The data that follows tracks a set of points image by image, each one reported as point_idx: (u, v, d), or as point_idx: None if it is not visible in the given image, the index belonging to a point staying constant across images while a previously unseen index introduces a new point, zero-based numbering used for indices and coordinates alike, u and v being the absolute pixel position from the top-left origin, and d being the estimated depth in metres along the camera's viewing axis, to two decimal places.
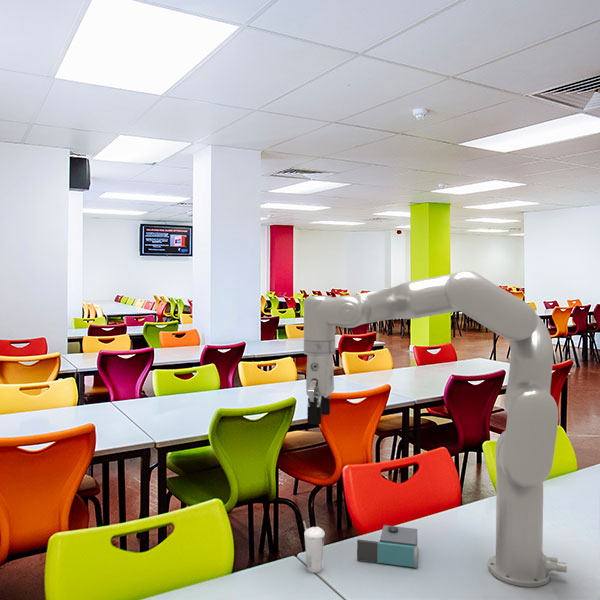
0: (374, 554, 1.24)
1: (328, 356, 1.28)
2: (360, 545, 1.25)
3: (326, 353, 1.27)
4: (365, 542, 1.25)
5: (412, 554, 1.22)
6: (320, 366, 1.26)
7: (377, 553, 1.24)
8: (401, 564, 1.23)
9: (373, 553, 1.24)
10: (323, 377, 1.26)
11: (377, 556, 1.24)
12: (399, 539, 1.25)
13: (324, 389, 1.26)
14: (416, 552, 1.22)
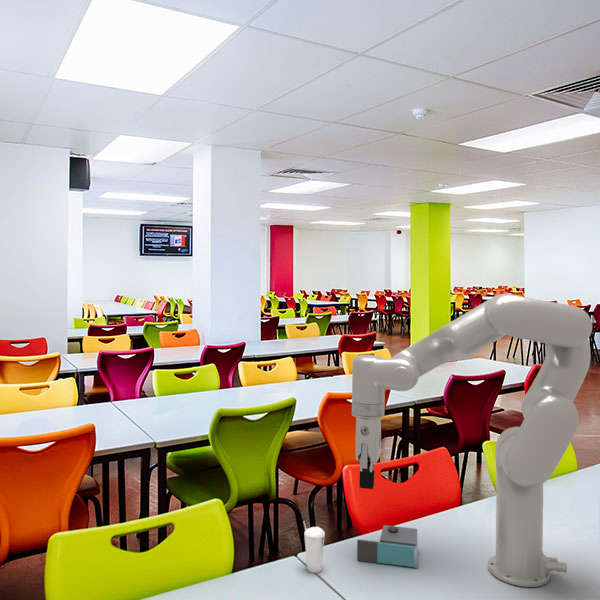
0: (374, 554, 1.24)
1: (378, 419, 1.25)
2: (360, 545, 1.25)
3: (376, 416, 1.24)
4: (365, 542, 1.25)
5: (412, 554, 1.22)
6: (370, 430, 1.22)
7: (377, 553, 1.24)
8: (401, 564, 1.23)
9: (373, 553, 1.24)
10: (374, 442, 1.22)
11: (377, 556, 1.24)
12: (399, 539, 1.25)
13: (374, 454, 1.22)
14: (416, 552, 1.22)
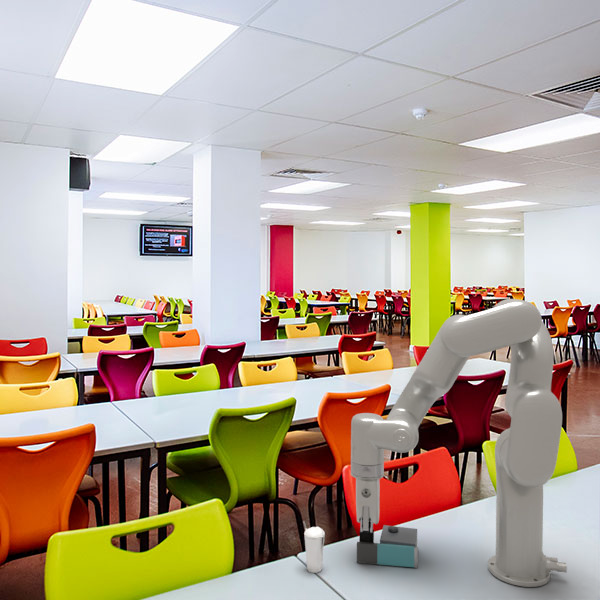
0: (374, 556, 1.23)
1: (378, 479, 1.24)
2: (360, 547, 1.24)
3: (377, 477, 1.23)
4: (365, 544, 1.24)
5: (412, 554, 1.22)
6: (372, 492, 1.21)
7: (377, 555, 1.23)
8: (401, 565, 1.22)
9: (373, 555, 1.23)
10: (375, 504, 1.21)
11: (377, 558, 1.23)
12: (399, 539, 1.25)
13: (376, 516, 1.21)
14: (416, 552, 1.22)
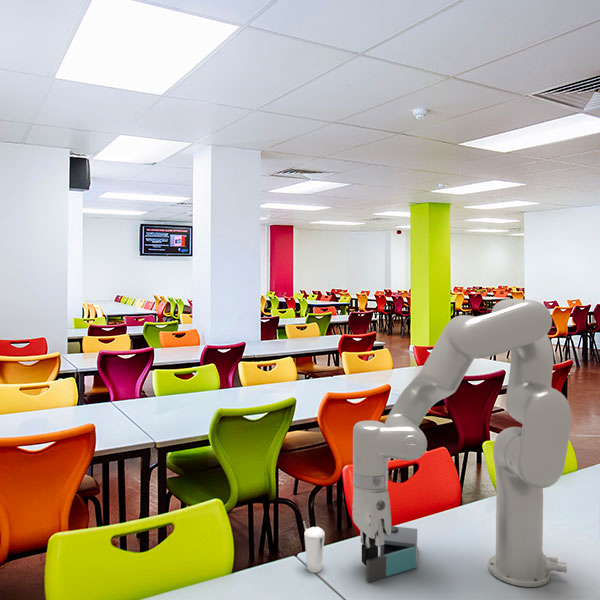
0: (383, 569, 1.18)
1: None
2: (371, 565, 1.16)
3: (386, 487, 1.17)
4: (375, 560, 1.17)
5: (414, 555, 1.22)
6: (386, 504, 1.15)
7: (386, 567, 1.18)
8: (405, 569, 1.21)
9: (382, 568, 1.18)
10: (389, 515, 1.15)
11: (386, 570, 1.18)
12: (399, 539, 1.25)
13: (390, 528, 1.15)
14: (417, 552, 1.22)
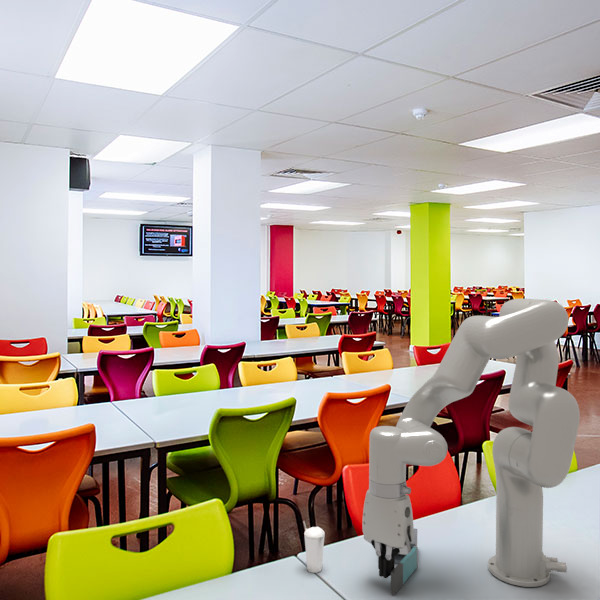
0: (401, 577, 1.14)
1: None
2: (395, 576, 1.12)
3: None
4: (397, 569, 1.13)
5: (416, 555, 1.22)
6: (410, 509, 1.12)
7: (403, 574, 1.15)
8: (412, 571, 1.20)
9: (401, 576, 1.14)
10: (412, 520, 1.13)
11: (403, 577, 1.15)
12: None
13: (413, 533, 1.13)
14: (417, 551, 1.22)
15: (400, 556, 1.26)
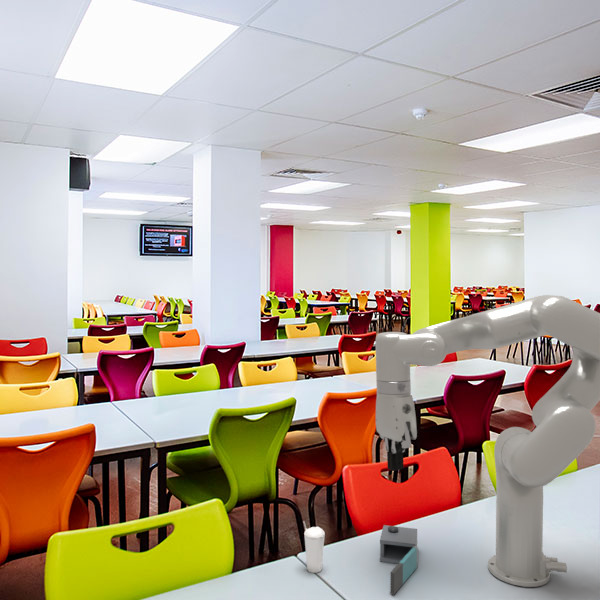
0: (401, 577, 1.14)
1: None
2: (395, 576, 1.12)
3: (409, 392, 1.21)
4: (397, 569, 1.13)
5: (416, 555, 1.22)
6: (411, 407, 1.19)
7: (402, 574, 1.15)
8: (412, 571, 1.20)
9: (401, 576, 1.14)
10: (414, 418, 1.19)
11: (402, 577, 1.15)
12: (399, 539, 1.25)
13: (416, 431, 1.19)
14: (417, 551, 1.22)
15: (400, 556, 1.26)
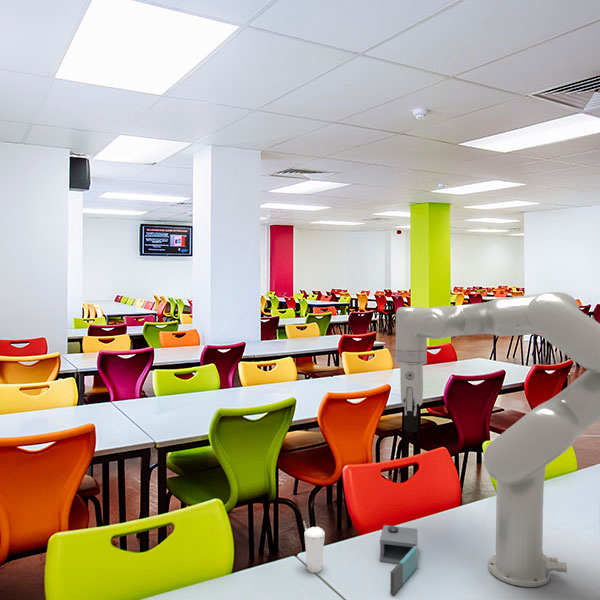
0: (401, 577, 1.14)
1: (421, 365, 1.33)
2: (395, 576, 1.12)
3: (420, 362, 1.32)
4: (397, 569, 1.13)
5: (416, 555, 1.22)
6: (415, 375, 1.30)
7: (402, 574, 1.15)
8: (412, 571, 1.20)
9: (401, 576, 1.14)
10: (418, 386, 1.30)
11: (402, 577, 1.15)
12: (399, 539, 1.25)
13: (419, 397, 1.30)
14: (417, 551, 1.22)
15: (400, 556, 1.26)
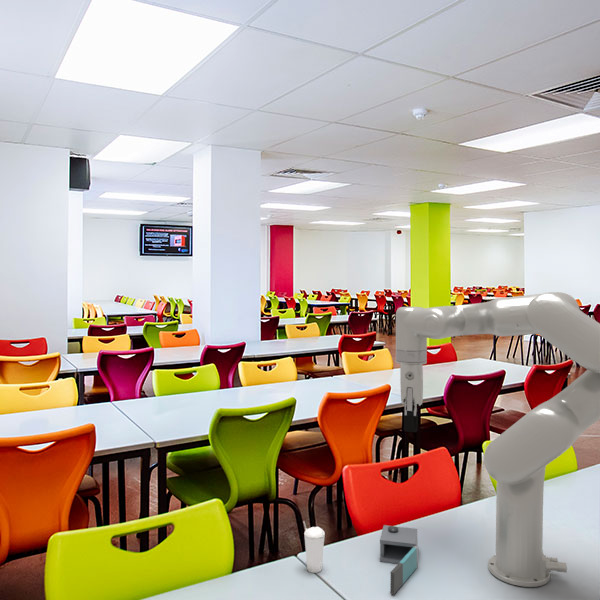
0: (401, 577, 1.14)
1: (421, 365, 1.33)
2: (395, 576, 1.12)
3: (420, 362, 1.32)
4: (397, 569, 1.13)
5: (416, 555, 1.22)
6: (415, 375, 1.30)
7: (402, 574, 1.15)
8: (412, 571, 1.20)
9: (401, 576, 1.14)
10: (418, 386, 1.30)
11: (402, 577, 1.15)
12: (399, 539, 1.25)
13: (419, 397, 1.30)
14: (417, 551, 1.22)
15: (400, 556, 1.26)
